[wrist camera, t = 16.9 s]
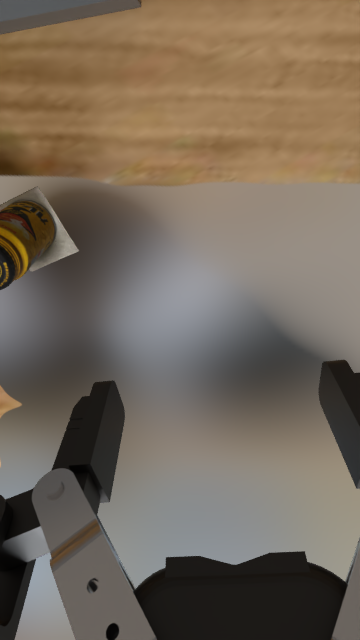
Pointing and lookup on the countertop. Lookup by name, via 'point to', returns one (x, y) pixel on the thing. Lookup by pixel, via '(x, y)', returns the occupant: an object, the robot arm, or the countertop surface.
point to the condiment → (30, 236)
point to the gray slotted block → (55, 11)
